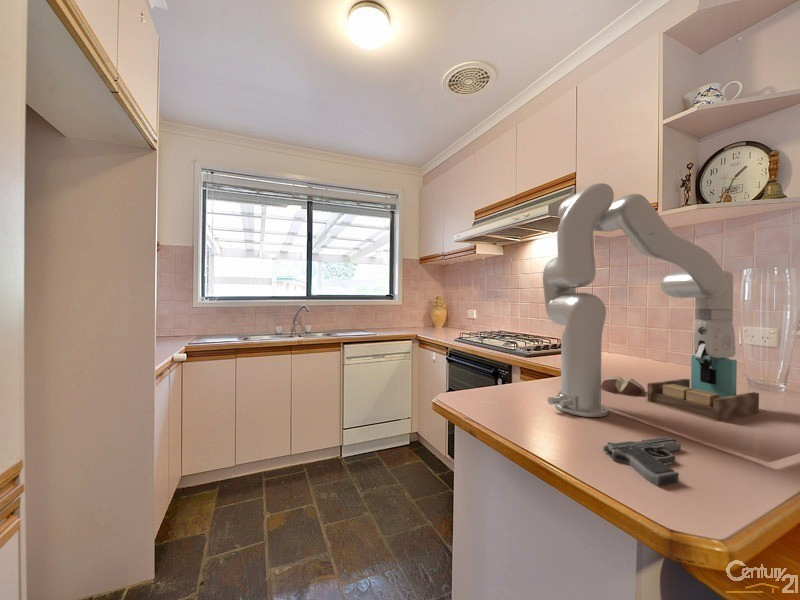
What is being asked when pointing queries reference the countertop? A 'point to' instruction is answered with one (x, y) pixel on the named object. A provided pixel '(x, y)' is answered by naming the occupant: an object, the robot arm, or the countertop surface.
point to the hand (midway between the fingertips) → (712, 381)
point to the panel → (724, 377)
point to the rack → (718, 412)
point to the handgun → (648, 458)
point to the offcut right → (701, 397)
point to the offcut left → (675, 391)
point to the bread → (622, 386)
